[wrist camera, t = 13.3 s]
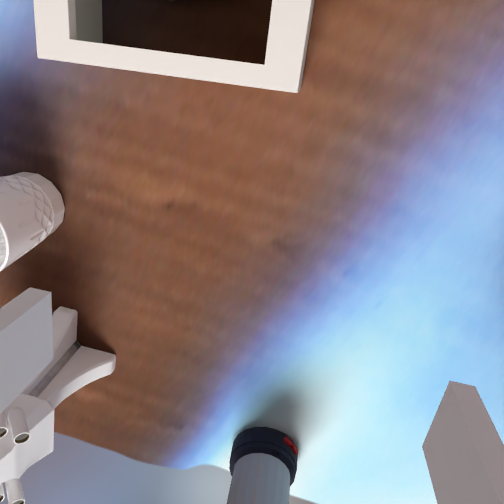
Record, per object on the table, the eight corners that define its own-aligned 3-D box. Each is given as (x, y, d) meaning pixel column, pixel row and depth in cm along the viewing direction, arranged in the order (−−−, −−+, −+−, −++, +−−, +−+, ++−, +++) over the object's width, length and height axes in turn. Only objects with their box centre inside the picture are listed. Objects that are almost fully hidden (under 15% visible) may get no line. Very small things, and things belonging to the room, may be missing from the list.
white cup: (45, 252, 47) (-20, 296, 38) (-14, 201, 46) (-97, 234, 37) (85, 205, 44) (25, 240, 35) (23, 149, 43) (-56, 170, 34)
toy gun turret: (8, 292, 50) (-142, 402, 33) (119, 321, 49) (21, 446, 33) (11, 373, 55) (-120, 503, 38) (112, 400, 54) (23, 543, 38)
